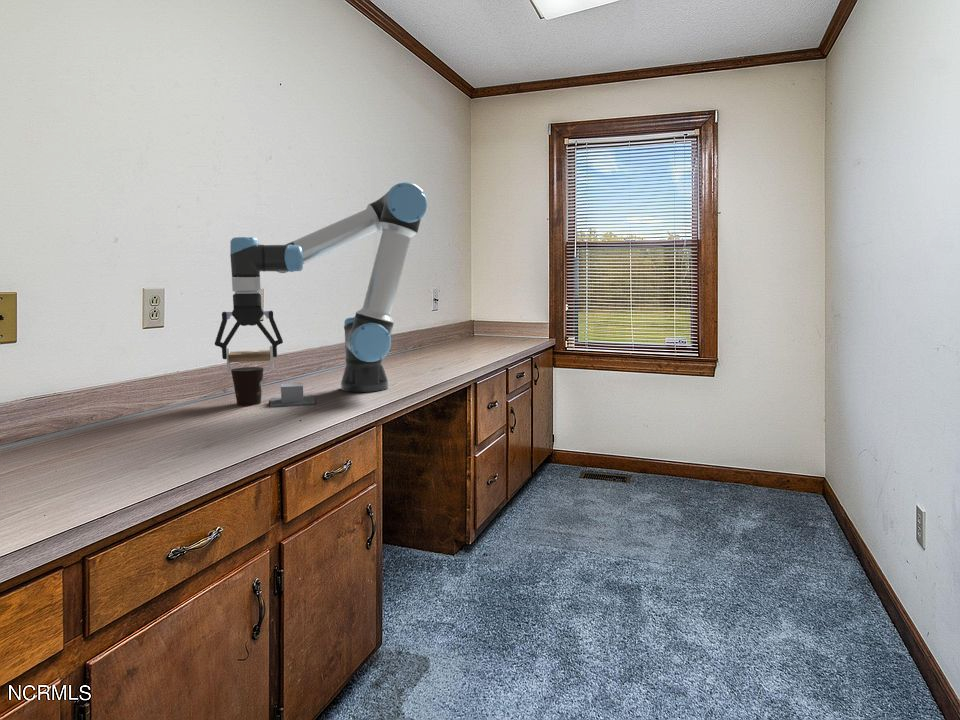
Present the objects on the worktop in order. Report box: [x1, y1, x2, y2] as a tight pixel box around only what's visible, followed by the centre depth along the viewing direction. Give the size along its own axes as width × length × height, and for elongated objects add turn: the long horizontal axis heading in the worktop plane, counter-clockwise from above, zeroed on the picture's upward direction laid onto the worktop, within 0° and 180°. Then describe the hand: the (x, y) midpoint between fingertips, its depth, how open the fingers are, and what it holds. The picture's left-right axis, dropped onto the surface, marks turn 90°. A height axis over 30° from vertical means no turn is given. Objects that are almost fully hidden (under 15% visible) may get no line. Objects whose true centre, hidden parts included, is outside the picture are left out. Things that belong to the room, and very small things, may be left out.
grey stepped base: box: [269, 382, 316, 408], centre depth 185 cm, size 12×12×5 cm
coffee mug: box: [230, 366, 264, 407], centre depth 185 cm, size 12×9×10 cm
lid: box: [228, 349, 270, 363], centre depth 184 cm, size 11×11×2 cm
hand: (250, 369), depth 185 cm, fingers closed on lid, 11 cm apart
